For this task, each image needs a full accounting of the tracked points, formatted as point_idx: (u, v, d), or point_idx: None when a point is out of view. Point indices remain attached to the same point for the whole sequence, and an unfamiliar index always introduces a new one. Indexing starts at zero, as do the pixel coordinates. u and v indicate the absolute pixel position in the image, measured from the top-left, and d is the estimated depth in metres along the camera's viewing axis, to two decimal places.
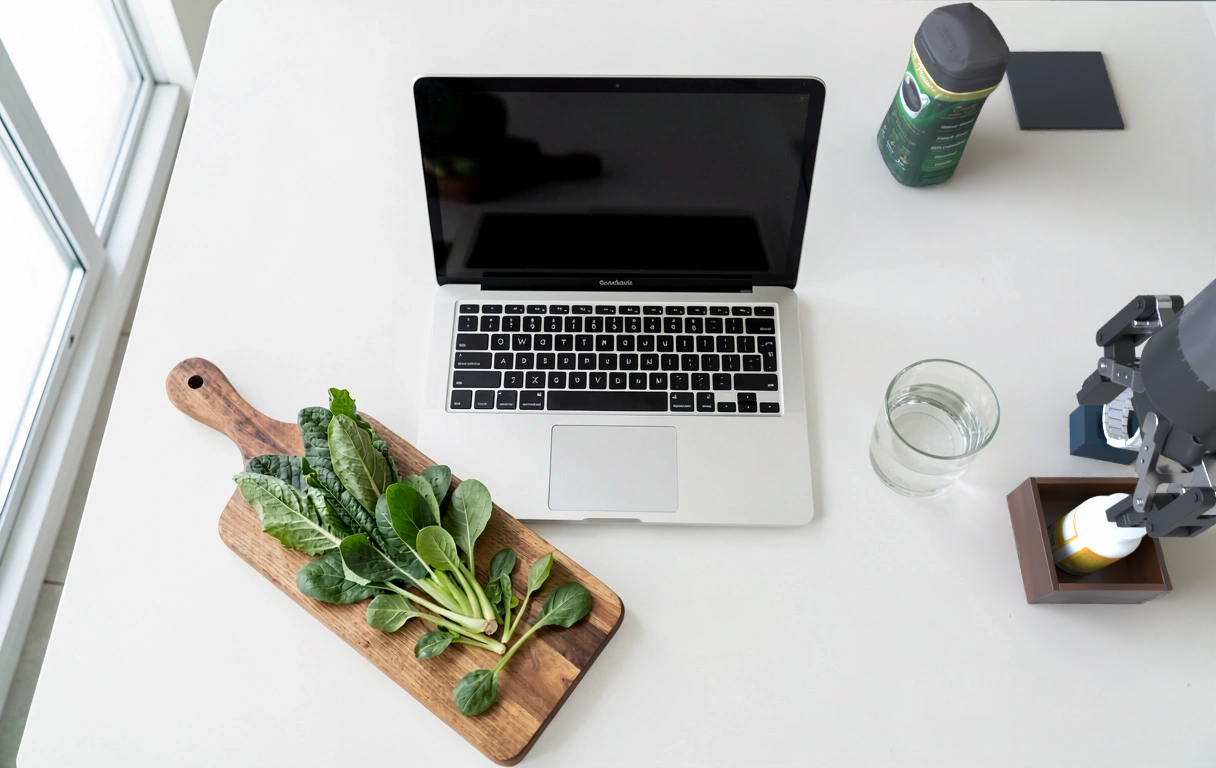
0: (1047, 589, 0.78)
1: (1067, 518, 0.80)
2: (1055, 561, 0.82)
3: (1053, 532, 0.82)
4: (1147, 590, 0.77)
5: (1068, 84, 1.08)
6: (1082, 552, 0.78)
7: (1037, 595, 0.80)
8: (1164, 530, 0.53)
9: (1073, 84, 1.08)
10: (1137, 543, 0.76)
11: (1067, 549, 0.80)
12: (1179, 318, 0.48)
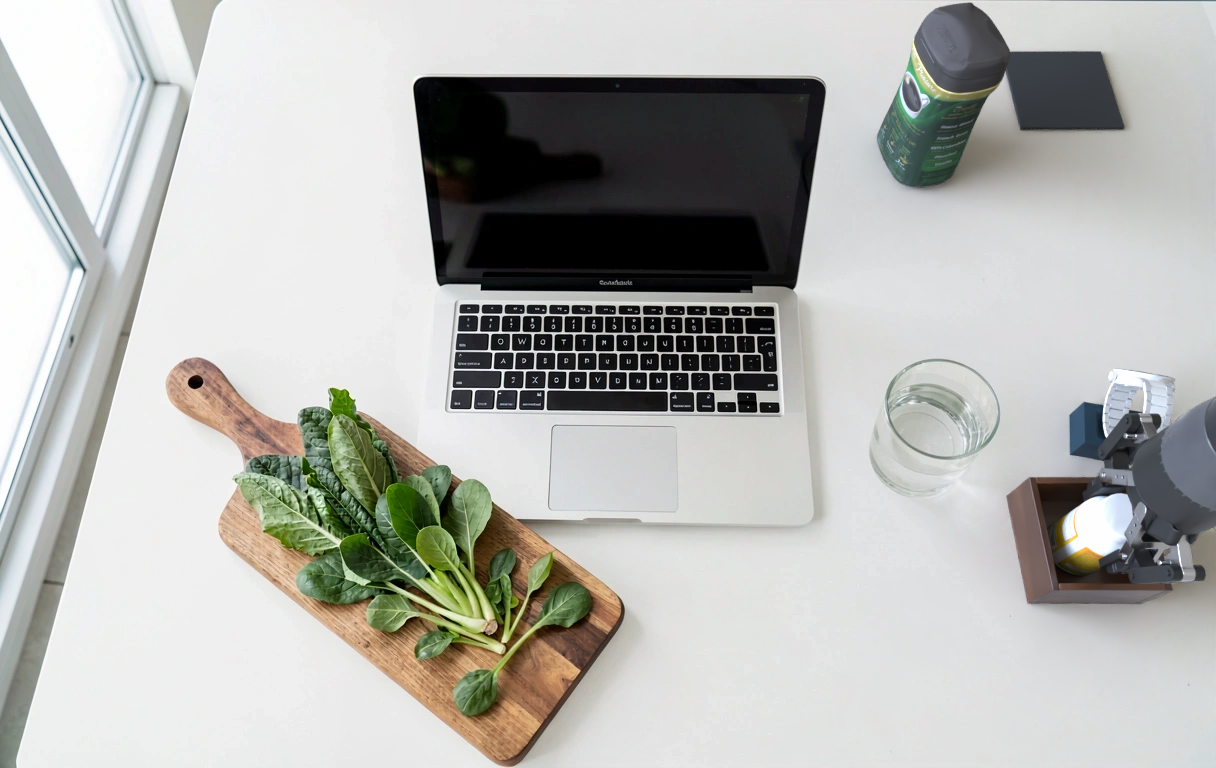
0: (1047, 589, 0.78)
1: (1067, 518, 0.80)
2: (1055, 561, 0.82)
3: (1053, 532, 0.82)
4: (1147, 590, 0.77)
5: (1068, 84, 1.08)
6: (1082, 552, 0.78)
7: (1037, 595, 0.80)
8: (1141, 583, 0.70)
9: (1073, 84, 1.08)
10: None
11: (1067, 549, 0.80)
12: (1161, 439, 0.64)
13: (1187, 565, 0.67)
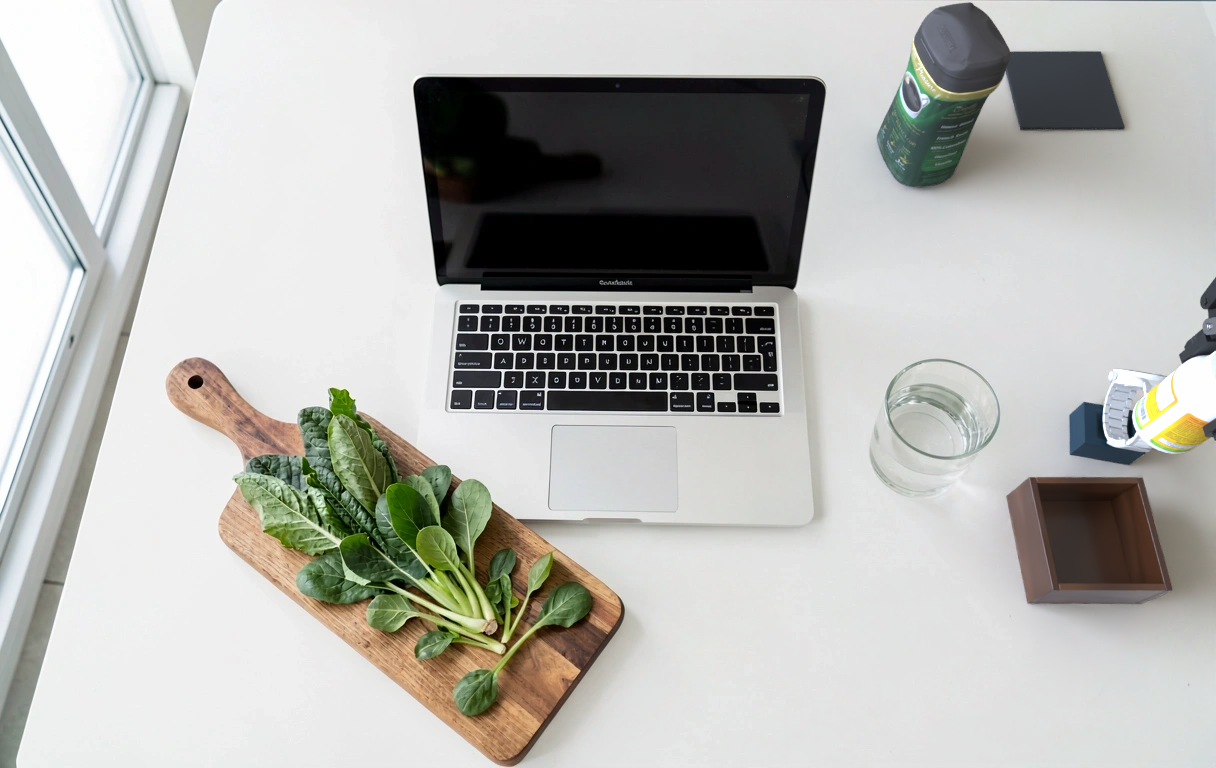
0: (1047, 589, 0.78)
1: (1162, 385, 0.69)
2: (1146, 438, 0.71)
3: (1144, 405, 0.71)
4: (1147, 590, 0.77)
5: (1068, 84, 1.08)
6: (1182, 421, 0.67)
7: (1037, 595, 0.80)
8: None
9: (1073, 84, 1.08)
10: None
11: (1162, 421, 0.69)
12: None
13: None
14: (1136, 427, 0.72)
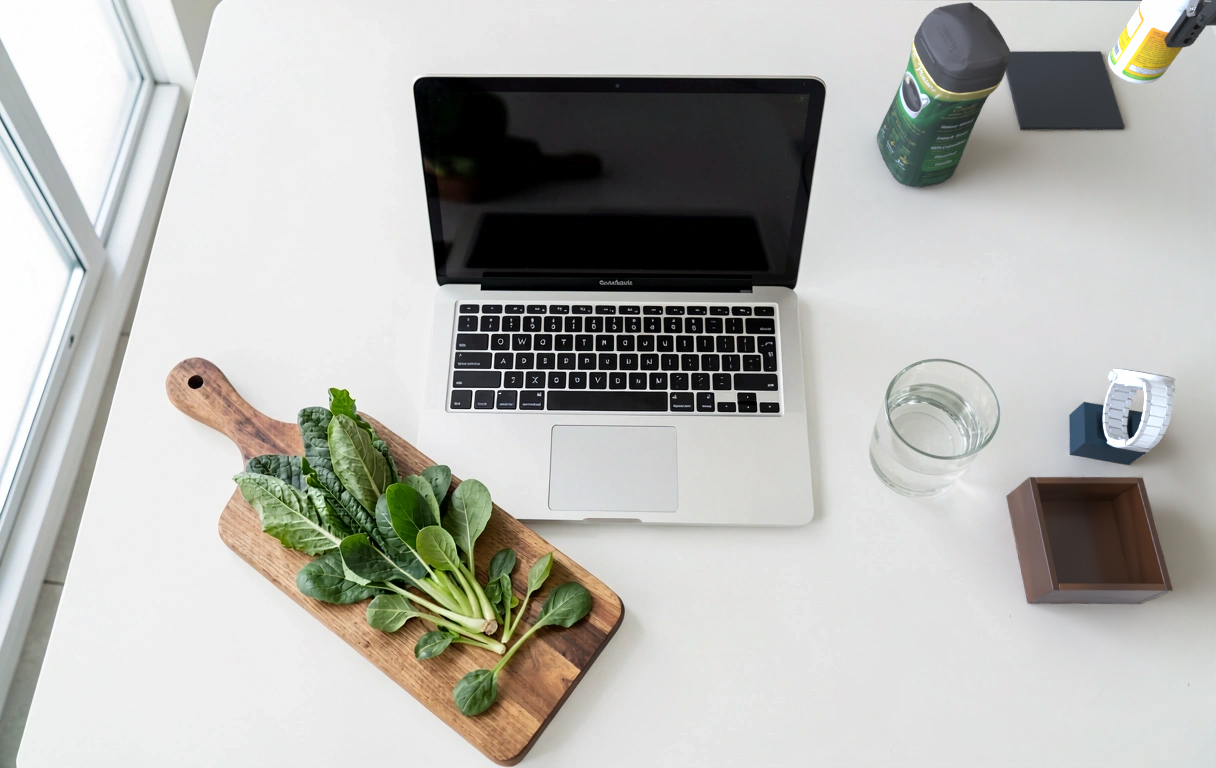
0: (1047, 589, 0.78)
1: None
2: (1119, 71, 0.87)
3: (1117, 42, 0.87)
4: (1147, 590, 0.77)
5: (1068, 84, 1.08)
6: (1147, 39, 0.83)
7: (1037, 595, 0.80)
8: (1211, 15, 0.76)
9: (1073, 84, 1.08)
10: None
11: (1131, 46, 0.85)
12: None
13: None
14: (1111, 65, 0.88)
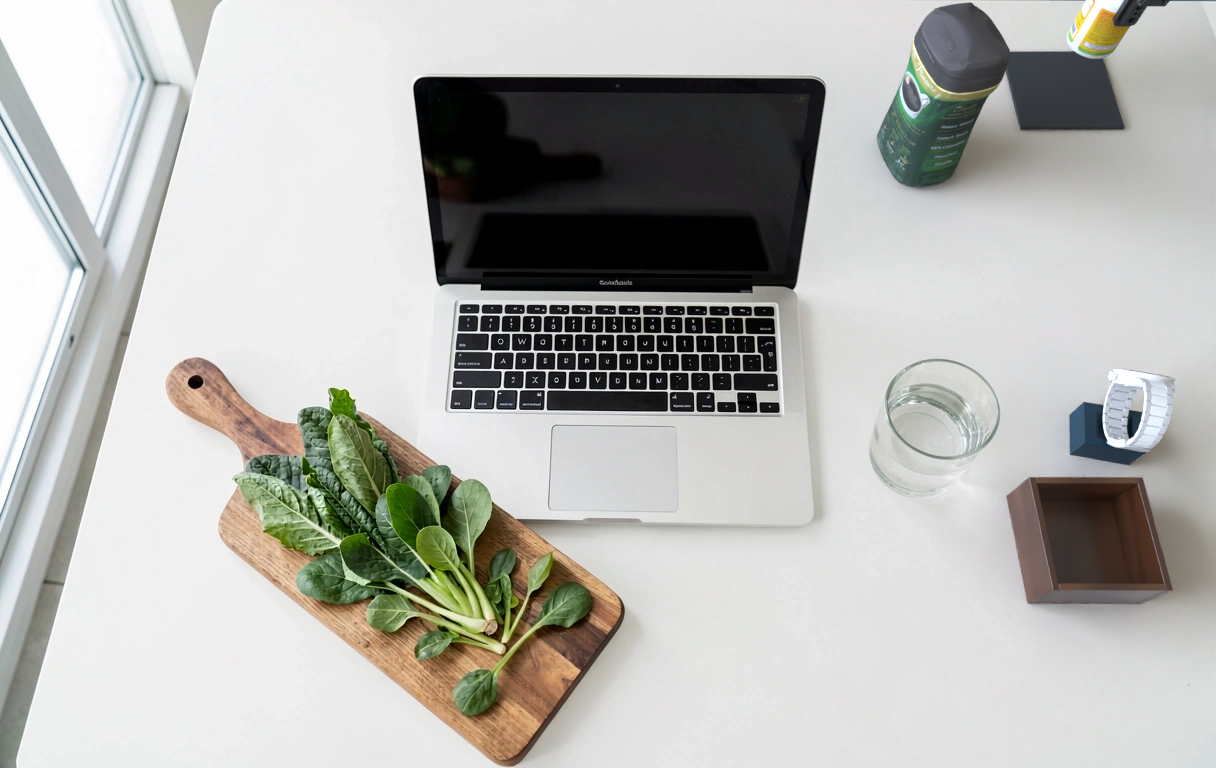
0: (1047, 589, 0.78)
1: (1086, 0, 0.98)
2: (1075, 48, 1.00)
3: (1074, 22, 1.00)
4: (1147, 590, 0.77)
5: (1068, 84, 1.08)
6: (1098, 18, 0.96)
7: (1037, 595, 0.80)
8: None
9: (1073, 84, 1.08)
10: None
11: (1085, 25, 0.98)
12: None
13: None
14: (1069, 42, 1.01)
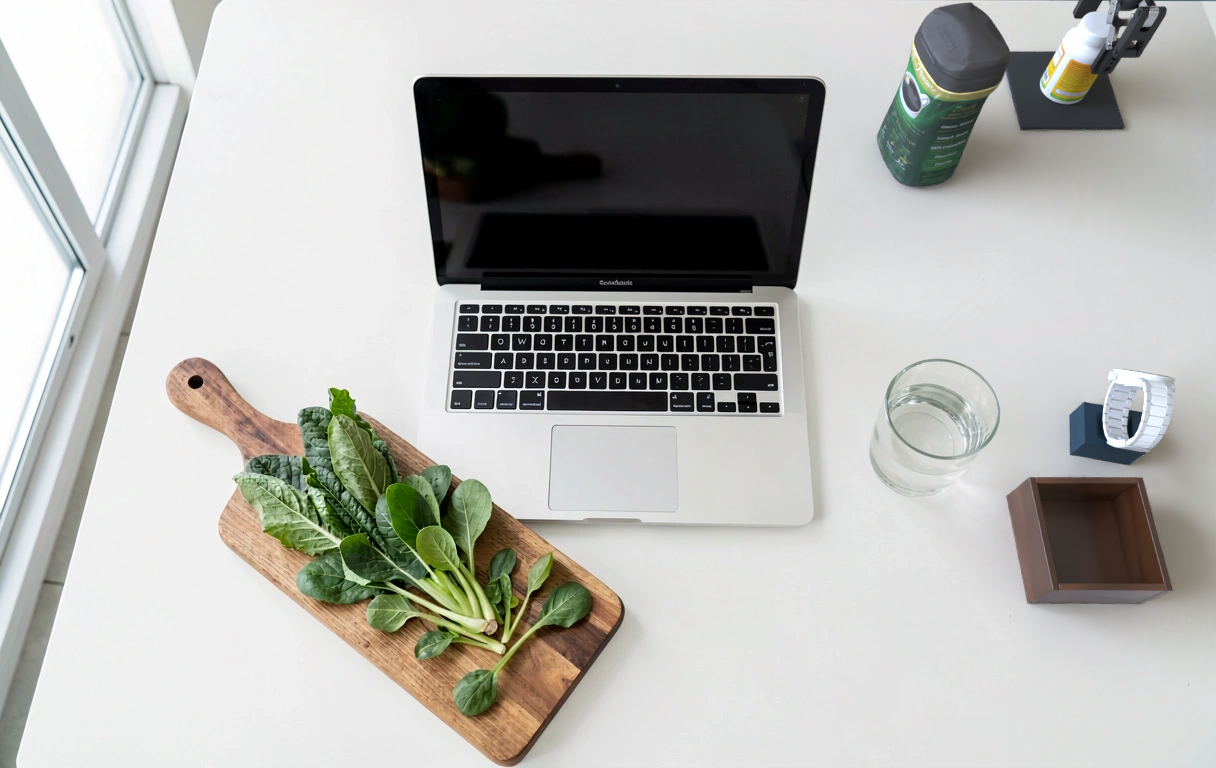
0: (1047, 589, 0.78)
1: (1057, 50, 1.04)
2: (1048, 94, 1.06)
3: (1046, 70, 1.06)
4: (1147, 590, 0.77)
5: None
6: (1068, 68, 1.02)
7: (1037, 595, 0.80)
8: (1122, 46, 0.93)
9: None
10: None
11: (1056, 73, 1.04)
12: None
13: (1151, 5, 0.90)
14: (1042, 88, 1.07)
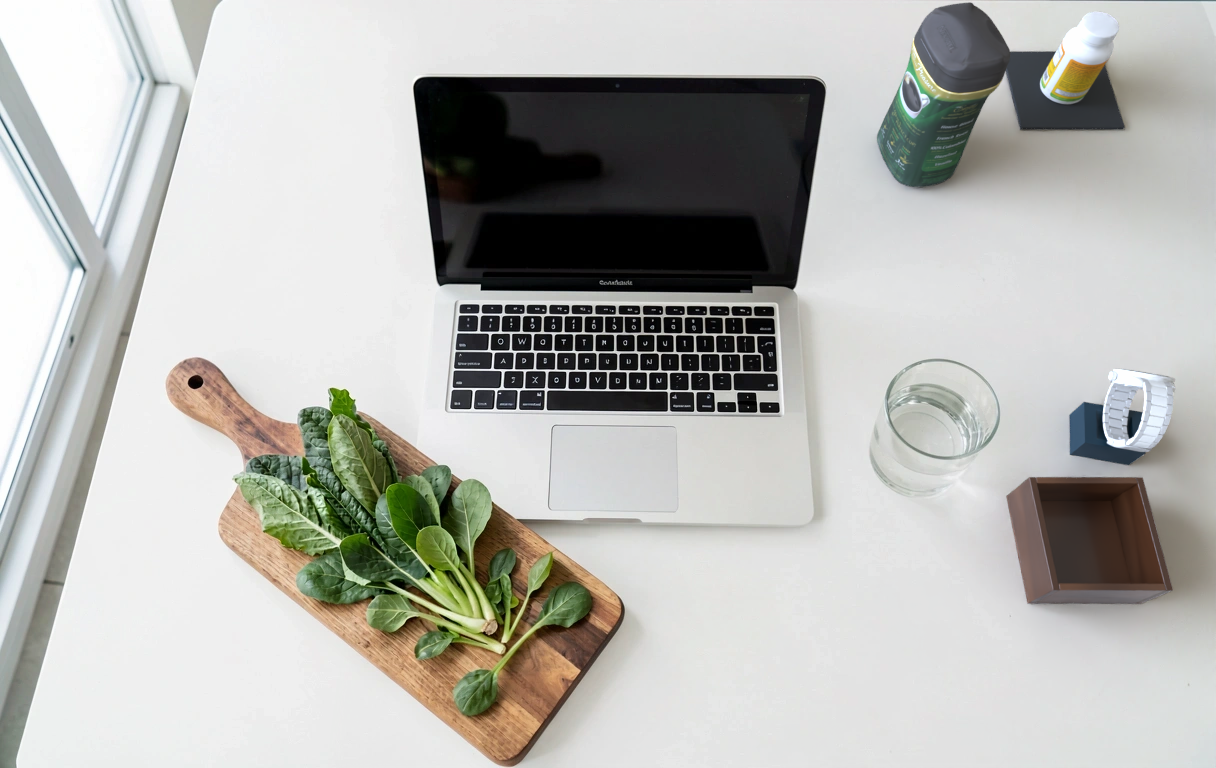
0: (1047, 589, 0.78)
1: (1057, 50, 1.04)
2: (1048, 94, 1.06)
3: (1046, 70, 1.06)
4: (1147, 590, 0.77)
5: None
6: (1068, 68, 1.02)
7: (1037, 595, 0.80)
8: None
9: None
10: (1109, 51, 1.00)
11: (1056, 73, 1.04)
12: None
13: None
14: (1042, 88, 1.07)
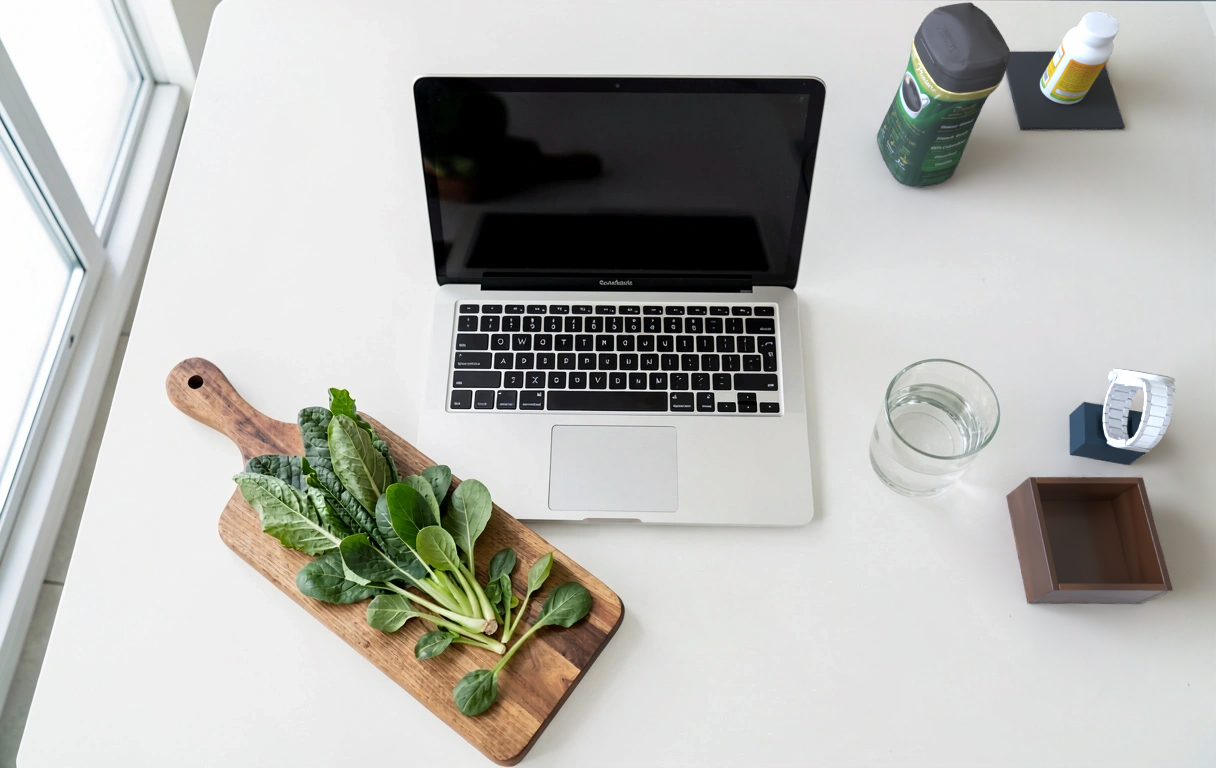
0: (1047, 589, 0.78)
1: (1057, 50, 1.04)
2: (1048, 94, 1.06)
3: (1046, 70, 1.06)
4: (1147, 590, 0.77)
5: None
6: (1068, 68, 1.02)
7: (1037, 595, 0.80)
8: None
9: None
10: (1109, 51, 1.00)
11: (1056, 73, 1.04)
12: None
13: None
14: (1042, 88, 1.07)
